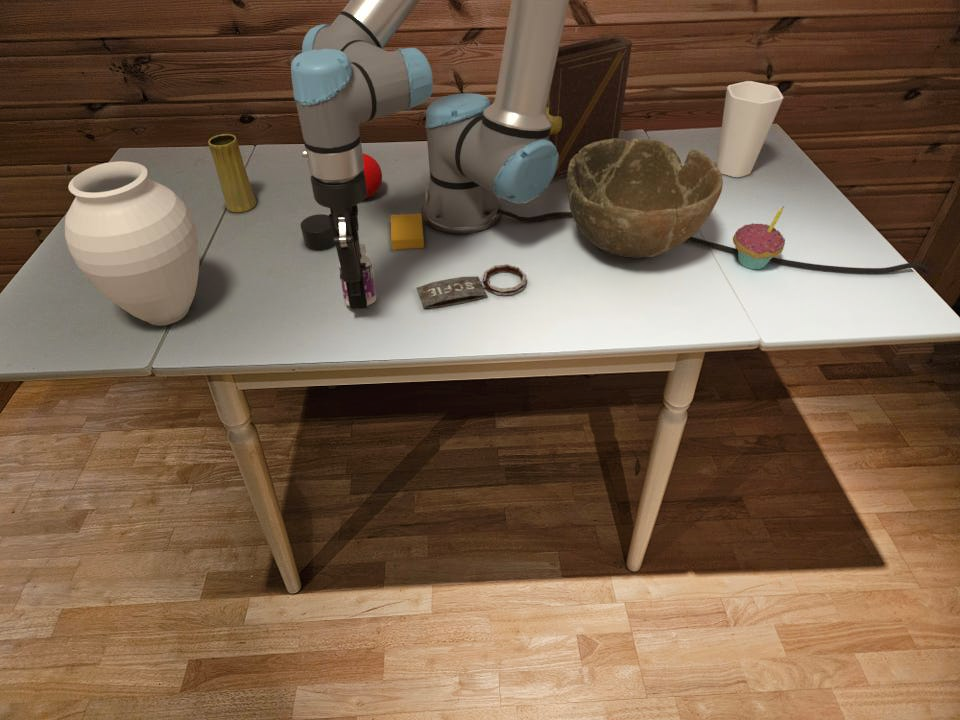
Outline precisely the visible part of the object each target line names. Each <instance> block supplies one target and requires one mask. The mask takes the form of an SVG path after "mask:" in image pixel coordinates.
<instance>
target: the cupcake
mask: <svg viewBox="0 0 960 720" xmlns="http://www.w3.org/2000/svg"><path fill="white" fill-rule="evenodd" d="M784 208H785V205H783V206H782V207H781V208H779V209H778V211H777V212H776V214H775V216H774V218H773V219H772V221H771V223H770V225H769V224H766V223H750V224H745V225H743V226H742V227H739V228H738V229H737V230H736V231H735V232H734V235H733V236H732V242H733V244H734V246H735V249H737V250H738V254H737V256H738V257H737V259H738V263H739V264H740V265H741V266H742V267H744V268H747V269H749V270H762V269H763V268H765V267H766V266H767V265H768V263H770V262H769V261H770V259H771V258H772V257H774V258H777V256H779V255H780V254H781V253H782V252H783V250H784V248H785V244H786V238H785V237H784V236H783V234H781V232H780V231H779V230H778V229H777V228H776V227H775V226H776V224H777V222H778V220H779V219H780V217H781V215H782V213H783V212H784V210H783V209H784Z"/></svg>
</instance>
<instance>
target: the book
mask: <svg viewBox="0 0 960 720" xmlns="http://www.w3.org/2000/svg"><path fill="white" fill-rule="evenodd" d="M632 44H633V41H632V40H630V39H629V38H626V37H624V36H621V35H616V34H611V35H604V36H601V37H597V38H592V39H588V40H584V41H580V42H575V43H570V44H566V45H562V46H559V50H558V55H557V60H556V64H555V69H554V74H553V78H552V83H551V88H550V92H549V97H548V102H547V106H546V114H547V116H548V118H549V119H550V121H551V123H552V127H551V131H550V136H549V140H548V141H551V142H552V143H553V145H554V146H555V147H556V149H557V152H558V166H557V169H556V172H555V174H554V177H553V178H552V180H551V182H554V181H556V180H559V179H562V178H563V179H564V178H565V177H566V178H567V172H568V165H569V162H570V160H571V159H572V158H573V157H574V156H575V155H576V154H578V153H579V150H581V149H582V148H583V147H585V146H587V145H589V144H591V143H593V142H598V141H602V140H608V139H613V138H619V139H620V133H621V132H620V131H621V125H622V118H623V111H624V103H625V96H626V88H627V83H628V82H627V81H628V75H629V74H628V73H629V68H630V67H629V66H630V61H631V54H632V53H631V52H632Z"/></svg>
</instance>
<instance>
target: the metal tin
mask: <svg viewBox="0 0 960 720" xmlns="http://www.w3.org/2000/svg"><path fill="white" fill-rule="evenodd" d="M300 229H301V234H302V238H303V243H304V246H305V247H306V248H307V249H308V250H311V251H314V252H315V251H316V252H321V251H326V250H330V249H332V248H334V247H336V246H335V243H334V241H333V239H334V233H333V228H332V227H331V225H330V220H329V214H321V213H319V214H318V213H317V214H313V215H310V216H307V217H305V218H304V219H303V220H302V221H301V222H300Z"/></svg>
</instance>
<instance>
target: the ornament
mask: <svg viewBox="0 0 960 720" xmlns="http://www.w3.org/2000/svg"><path fill="white" fill-rule="evenodd" d="M362 154H363V162H364V168H363V171H364V173H365V180H366V188H367V195H366V197H365V199H366V198H369V197H372V196H374V195H375V194H376V193H377V191H378V190H379V189H380V187H381V186H382V181H383V171H382V168H381V166H380V164H379V163H378V161H377V160H376V159H375V158H374V157H373V156H371V155H369V154H367V153H363V152H362Z"/></svg>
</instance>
